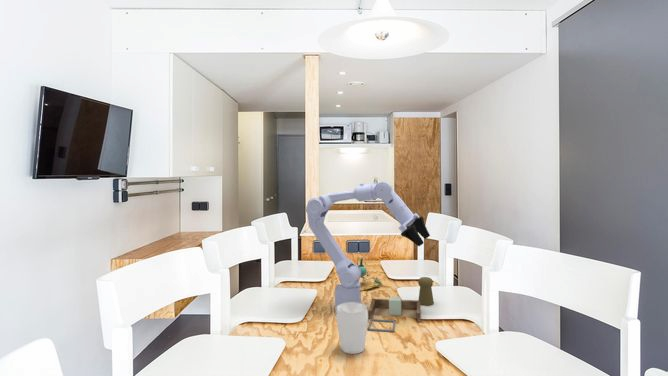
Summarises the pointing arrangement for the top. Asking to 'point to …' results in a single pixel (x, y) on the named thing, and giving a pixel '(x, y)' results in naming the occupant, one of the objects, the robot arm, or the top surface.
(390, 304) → the sage block
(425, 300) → the cork
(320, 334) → the top surface
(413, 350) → the top surface
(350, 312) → the cup
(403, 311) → the brown wooden box
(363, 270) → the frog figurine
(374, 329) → the gray square frame
